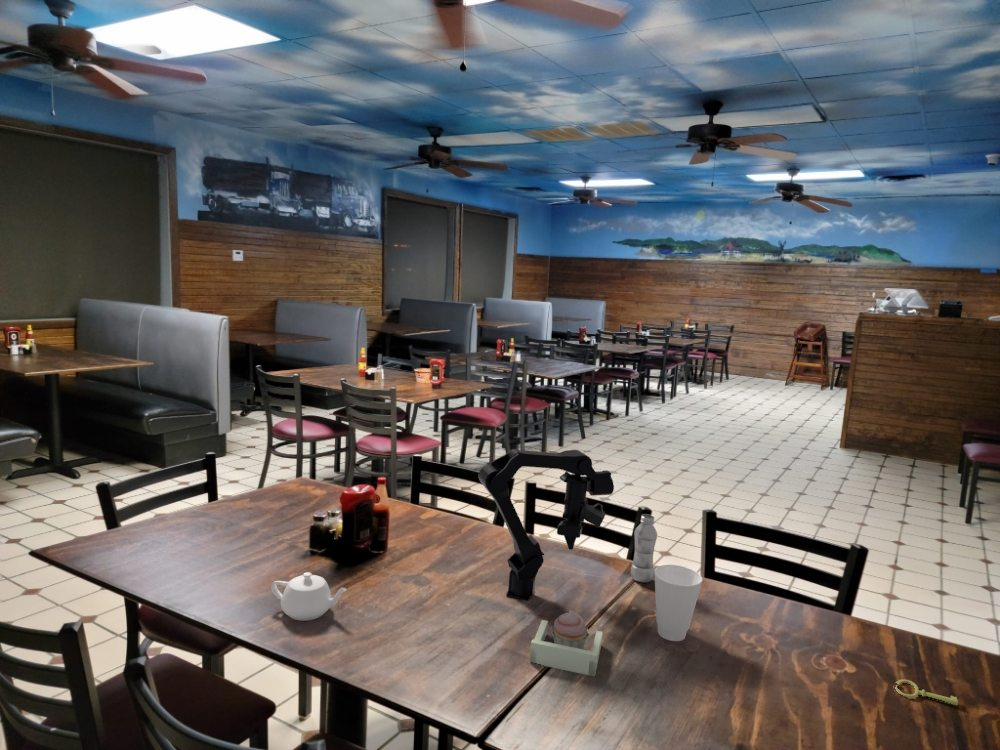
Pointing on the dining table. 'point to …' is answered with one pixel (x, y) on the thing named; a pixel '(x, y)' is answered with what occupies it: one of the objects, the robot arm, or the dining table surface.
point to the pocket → (564, 653)
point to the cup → (675, 599)
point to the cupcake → (570, 630)
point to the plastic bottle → (644, 550)
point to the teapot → (306, 596)
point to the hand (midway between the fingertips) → (570, 548)
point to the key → (925, 693)
